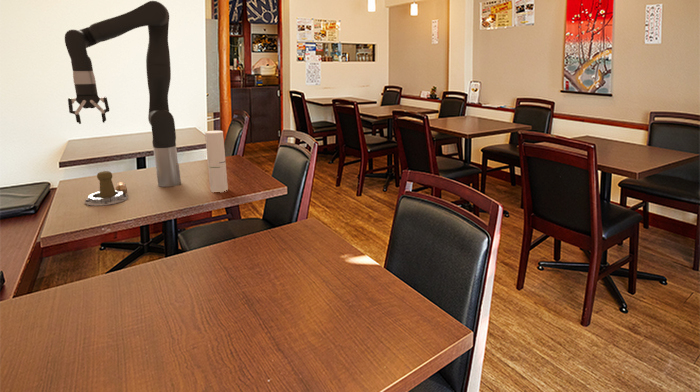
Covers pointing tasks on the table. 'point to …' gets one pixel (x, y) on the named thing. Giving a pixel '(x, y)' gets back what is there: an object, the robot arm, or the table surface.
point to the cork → (106, 184)
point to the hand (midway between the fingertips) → (91, 123)
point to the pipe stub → (121, 187)
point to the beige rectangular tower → (216, 161)
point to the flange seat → (105, 199)
